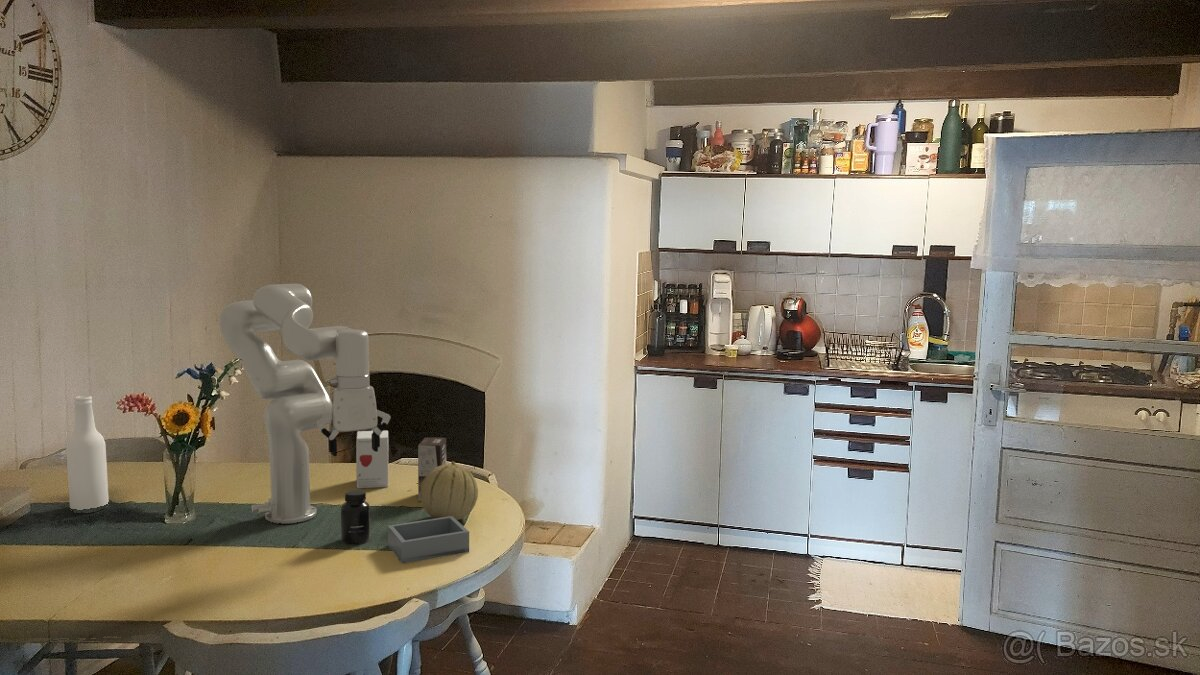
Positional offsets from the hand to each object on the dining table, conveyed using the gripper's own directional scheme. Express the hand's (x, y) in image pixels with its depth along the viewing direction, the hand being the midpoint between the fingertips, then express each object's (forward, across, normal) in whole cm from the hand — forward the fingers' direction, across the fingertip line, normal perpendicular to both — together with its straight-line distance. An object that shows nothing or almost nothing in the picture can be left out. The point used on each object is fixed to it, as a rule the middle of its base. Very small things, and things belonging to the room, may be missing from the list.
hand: (354, 452), depth 207 cm
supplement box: (+22, +15, +43) cm, 51 cm away
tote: (+22, +14, -13) cm, 29 cm away
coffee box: (+22, +27, +24) cm, 42 cm away
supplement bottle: (+22, 0, 0) cm, 22 cm away
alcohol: (+22, -57, +52) cm, 80 cm away
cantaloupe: (+22, +25, +4) cm, 33 cm away
